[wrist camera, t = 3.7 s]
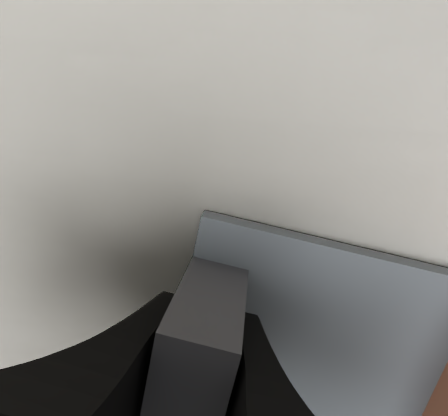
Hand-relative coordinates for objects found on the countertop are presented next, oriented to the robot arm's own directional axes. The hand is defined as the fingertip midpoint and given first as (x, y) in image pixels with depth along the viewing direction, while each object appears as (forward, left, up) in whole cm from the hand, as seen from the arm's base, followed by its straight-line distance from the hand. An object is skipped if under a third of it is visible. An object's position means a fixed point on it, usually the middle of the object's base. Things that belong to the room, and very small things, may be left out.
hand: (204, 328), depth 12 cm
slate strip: (0, -7, -2) cm, 7 cm away
